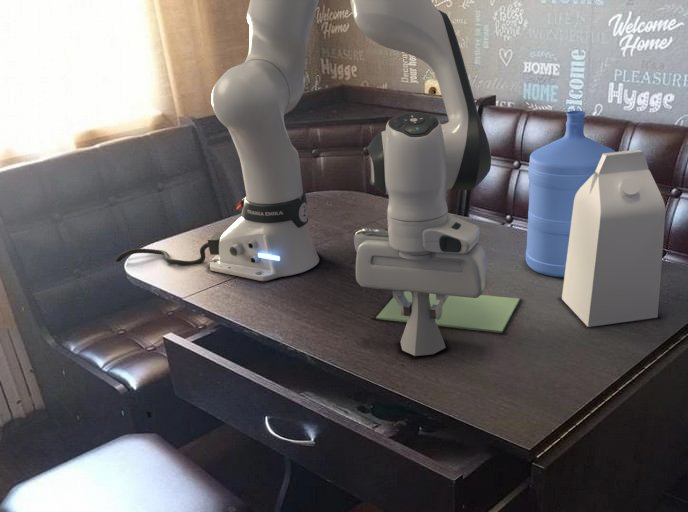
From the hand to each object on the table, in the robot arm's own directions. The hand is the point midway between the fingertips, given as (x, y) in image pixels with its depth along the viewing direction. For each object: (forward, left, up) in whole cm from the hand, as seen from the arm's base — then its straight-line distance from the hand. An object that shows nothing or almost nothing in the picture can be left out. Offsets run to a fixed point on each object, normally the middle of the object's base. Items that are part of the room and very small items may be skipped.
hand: (421, 316), depth 120 cm
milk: (+26, +21, -6) cm, 34 cm away
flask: (0, 0, -6) cm, 6 cm away
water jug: (+16, +39, -6) cm, 43 cm away
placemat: (0, +14, -5) cm, 15 cm away
